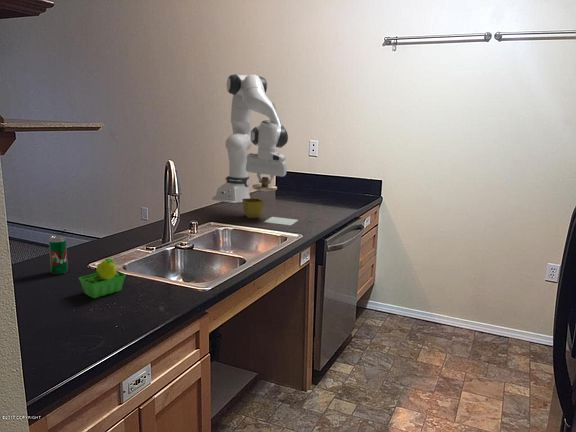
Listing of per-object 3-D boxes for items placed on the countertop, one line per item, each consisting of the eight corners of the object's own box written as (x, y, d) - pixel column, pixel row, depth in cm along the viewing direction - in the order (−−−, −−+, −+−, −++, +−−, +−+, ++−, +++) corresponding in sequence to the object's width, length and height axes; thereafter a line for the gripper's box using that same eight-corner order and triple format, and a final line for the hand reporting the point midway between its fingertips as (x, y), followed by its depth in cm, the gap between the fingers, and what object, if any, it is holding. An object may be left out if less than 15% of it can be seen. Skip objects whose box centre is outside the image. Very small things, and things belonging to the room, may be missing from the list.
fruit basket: (113, 283, 152) (112, 249, 149) (129, 291, 146) (128, 255, 144) (78, 293, 143) (76, 257, 141) (94, 302, 138) (92, 264, 135)
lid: (248, 188, 235) (249, 177, 234) (258, 185, 246) (258, 174, 245) (271, 192, 231) (272, 180, 230) (280, 188, 242) (281, 177, 241)
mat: (263, 222, 235) (263, 221, 235) (272, 217, 246) (272, 216, 246) (291, 226, 231) (291, 225, 231) (298, 220, 242) (298, 219, 242)
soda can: (63, 268, 163) (61, 234, 160) (71, 272, 160) (68, 237, 157) (48, 272, 159) (45, 237, 156) (55, 276, 156) (53, 240, 153)
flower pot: (263, 219, 243) (264, 201, 241) (246, 220, 240) (247, 202, 237) (258, 215, 251) (258, 198, 249) (241, 216, 247) (242, 198, 245)
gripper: (244, 153, 235) (242, 181, 238) (284, 158, 229) (282, 186, 232) (249, 152, 241) (248, 179, 244) (288, 156, 235) (286, 185, 238)
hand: (264, 183), depth 238 cm, fingers closed on lid, 3 cm apart
